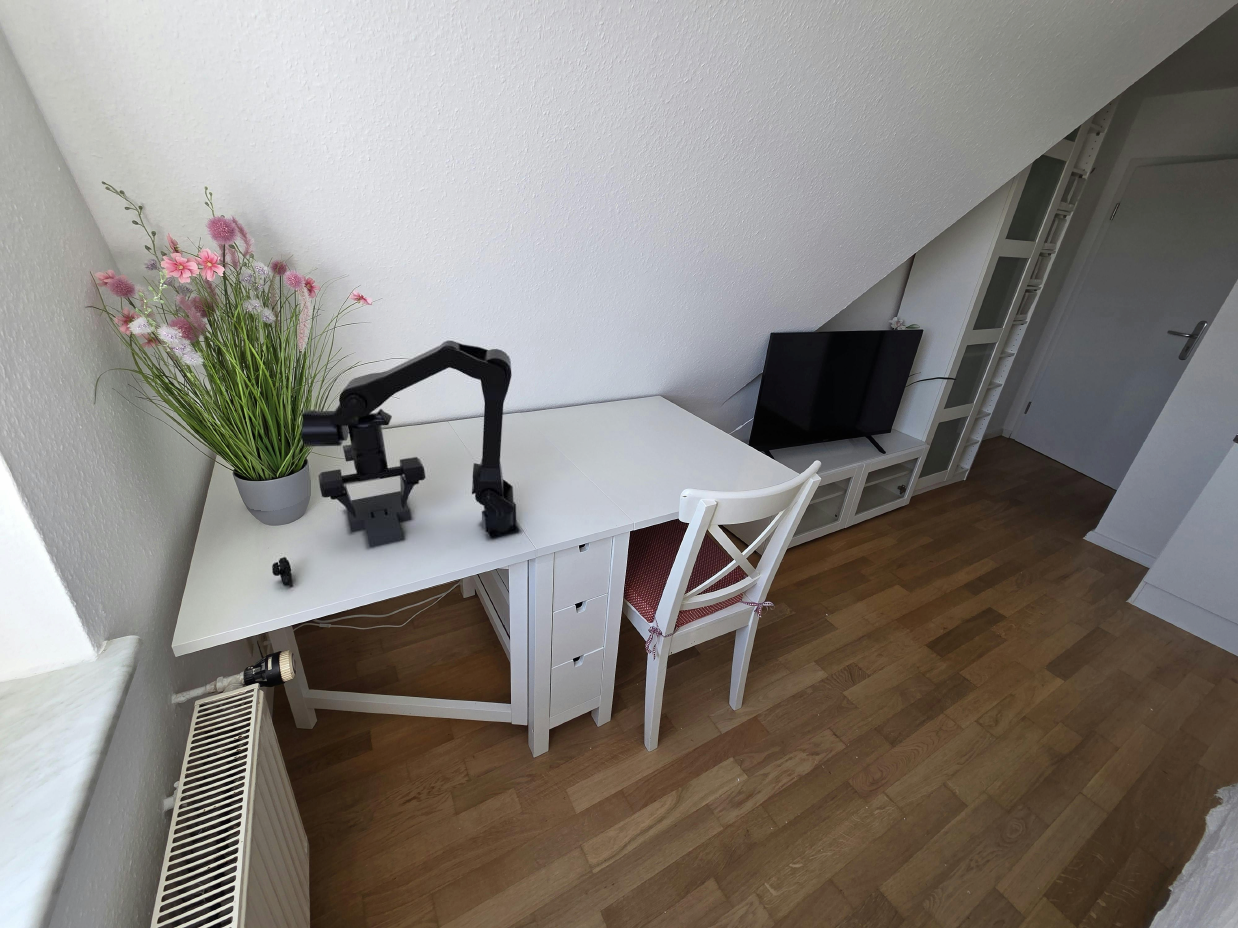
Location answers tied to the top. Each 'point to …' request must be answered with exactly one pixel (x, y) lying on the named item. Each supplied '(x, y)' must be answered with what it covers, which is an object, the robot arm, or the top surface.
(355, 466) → the robot arm
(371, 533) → the tab pad
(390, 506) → the notch pad
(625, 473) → the top surface
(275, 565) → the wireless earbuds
